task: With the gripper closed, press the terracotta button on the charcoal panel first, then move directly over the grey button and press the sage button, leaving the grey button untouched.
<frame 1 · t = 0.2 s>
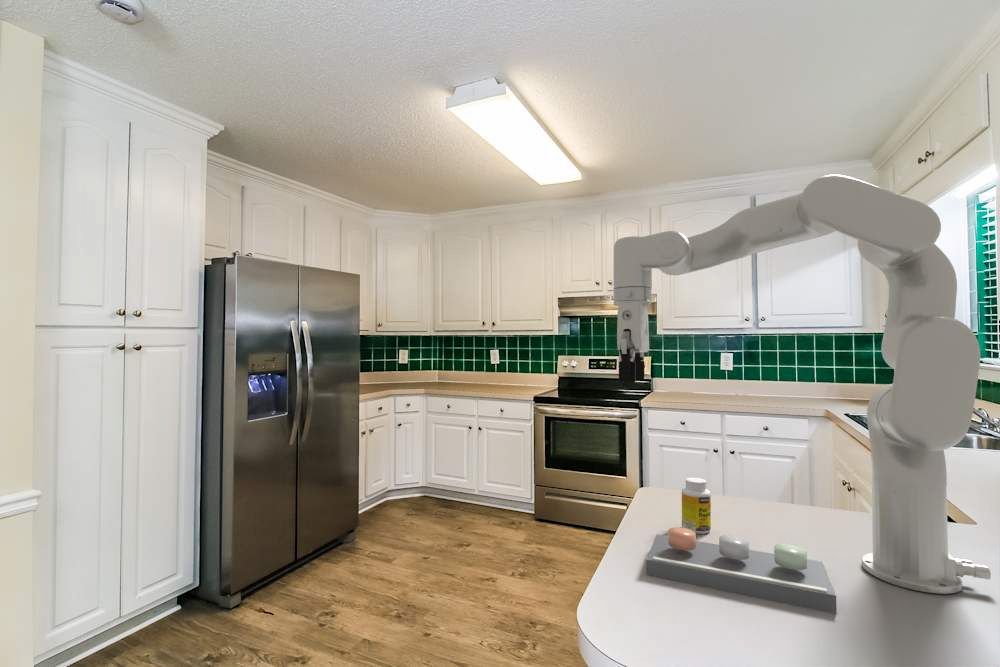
hand: (632, 380, 99), 31 cm above the countertop, fingers open, 9 cm apart
supplement bottle: (696, 530, 99), on the countertop
grey button: (733, 547, 79), point 5 cm above the countertop, slide at 0.0 cm
button panel: (734, 576, 79), on the countertop
terracotta button: (681, 538, 83), point 5 cm above the countertop, slide at 0.0 cm
sage button: (790, 556, 76), point 5 cm above the countertop, slide at 0.0 cm
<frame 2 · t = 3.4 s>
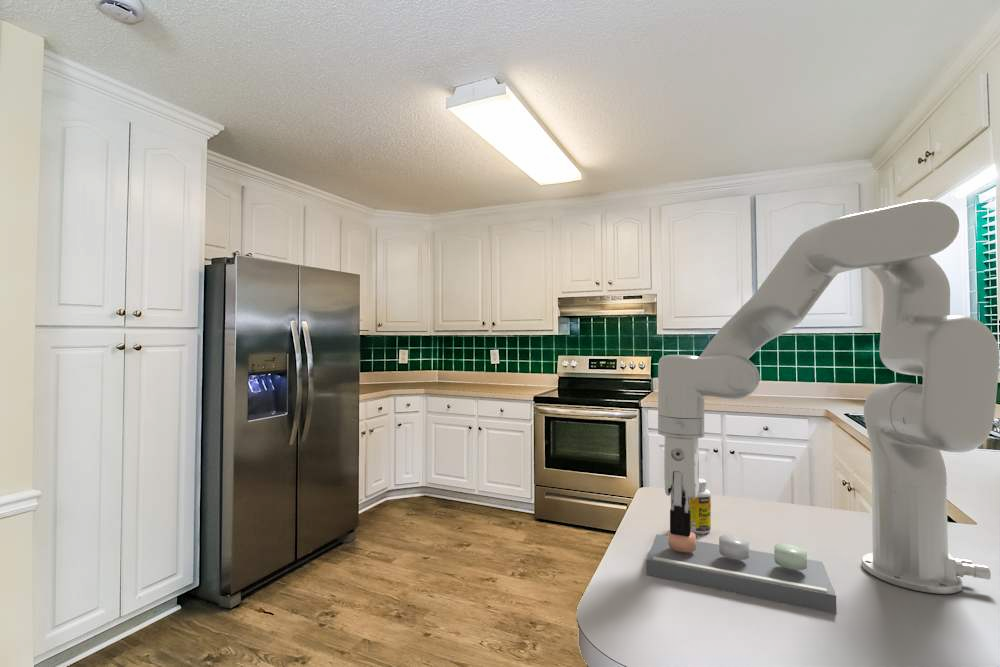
hand: (680, 533, 83), 6 cm above the countertop, fingers closed
terracotta button: (682, 540, 83), point 4 cm above the countertop, slide at 0.3 cm, touching gripper
everything else where it was.
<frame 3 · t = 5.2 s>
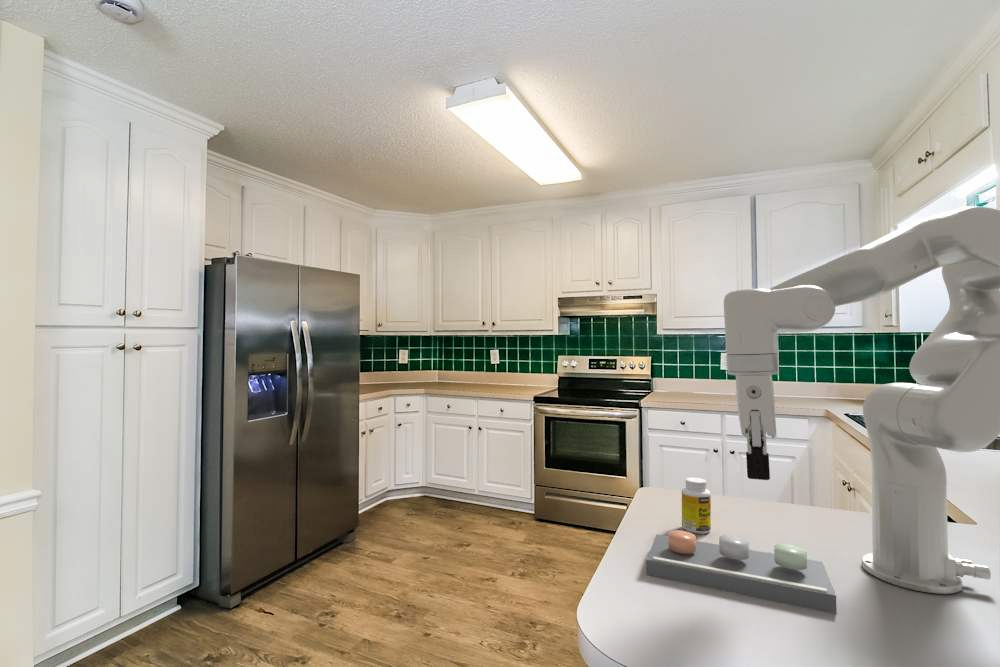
hand: (758, 477, 78), 16 cm above the countertop, fingers closed
terracotta button: (682, 541, 83), point 4 cm above the countertop, slide at 0.6 cm
everything else where it was.
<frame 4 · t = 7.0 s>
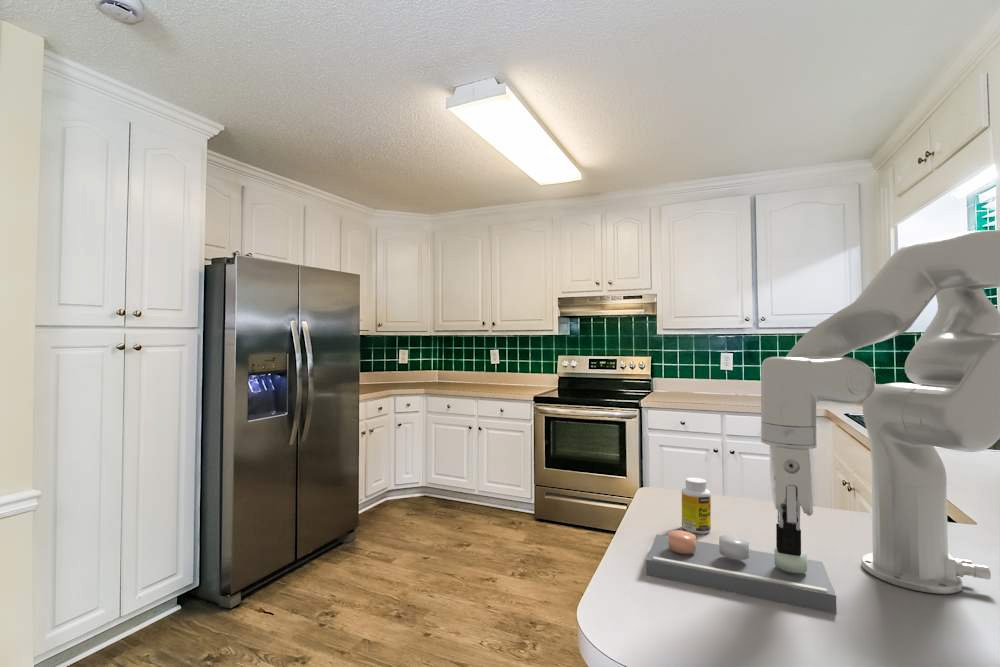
hand: (788, 552, 76), 5 cm above the countertop, fingers closed
sage button: (790, 559, 76), point 4 cm above the countertop, slide at 0.5 cm, touching gripper
everything else where it was.
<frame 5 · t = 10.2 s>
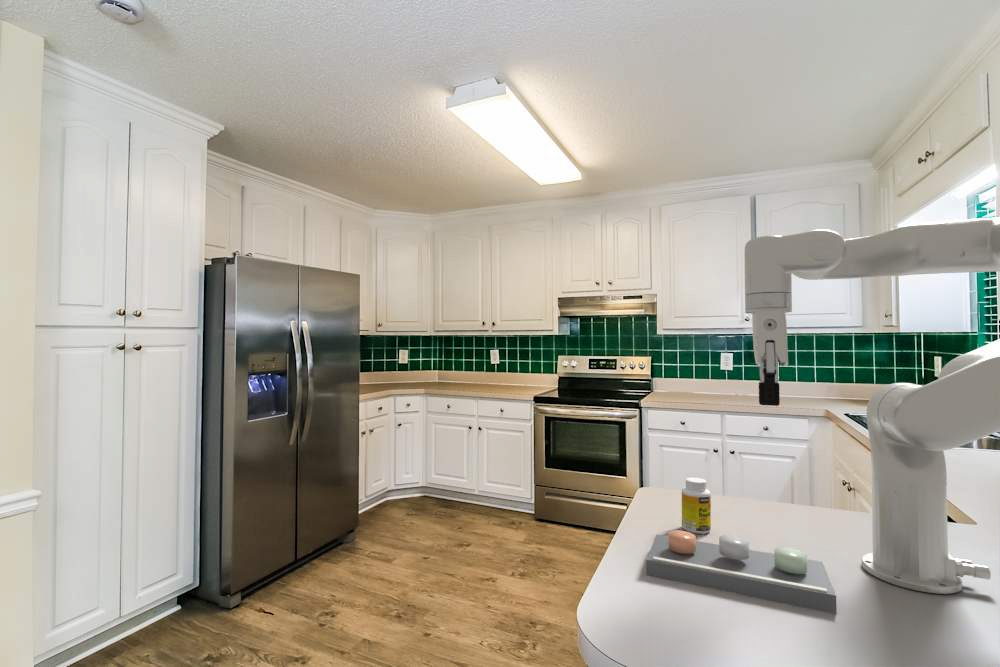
hand: (769, 404, 88), 27 cm above the countertop, fingers closed
sage button: (790, 560, 76), point 4 cm above the countertop, slide at 0.6 cm
everything else where it was.
at the end: terracotta button slide at 0.6 cm; sage button slide at 0.6 cm; grey button slide at 0.0 cm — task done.
